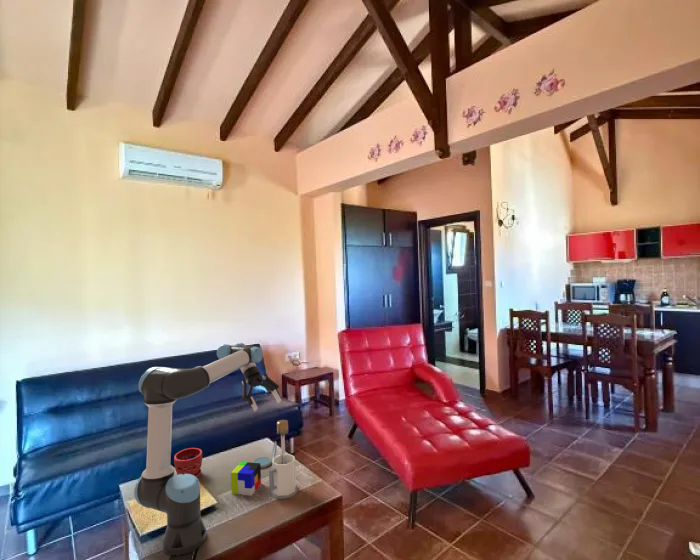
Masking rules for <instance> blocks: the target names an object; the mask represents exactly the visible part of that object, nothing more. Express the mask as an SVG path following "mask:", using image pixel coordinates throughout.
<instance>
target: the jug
mask: <svg viewBox="0 0 700 560" xmlns="http://www.w3.org/2000/svg"><path fill="white" fill-rule="evenodd" d="M281 463H282V453H281V454H279V455H275V457H274V458H273V461H272V463H271V468H269V469H268V479H269V481H268V482H269V483H268V484H269V490H270V493H271V496H272V497H273V498H274V497H275V498H274V499H277V500H286V499H291V498H293V497H294V496H296V494H297V493H298V489H299V487H298V485H297V481H296V480H297V479H296V478H297V477H296V457H295V456H294V455H292V454H291V453H285V463H288V464H281Z"/></svg>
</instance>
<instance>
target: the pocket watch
mask: <svg viewBox="0 0 700 560" xmlns="http://www.w3.org/2000/svg"><path fill="white" fill-rule="evenodd" d="M277 444H278V443H277V441H274V444H273V448H272V453H271V455H272V456H271V457H269V456H260V457H257V458H255V459H254V460H253V461H252V463H260V466H261V469H265V468H267V467H269V466H270V465H272V461H273V458H274V457H276V456H277V455H276V453H277V446H278V445H277Z"/></svg>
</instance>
